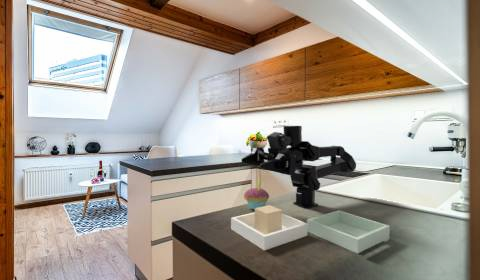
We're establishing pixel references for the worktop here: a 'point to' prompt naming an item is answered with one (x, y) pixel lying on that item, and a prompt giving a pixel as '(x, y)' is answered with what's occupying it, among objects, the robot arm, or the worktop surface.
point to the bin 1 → (289, 232)
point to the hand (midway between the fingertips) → (250, 163)
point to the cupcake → (256, 196)
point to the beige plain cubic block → (268, 219)
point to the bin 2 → (349, 230)
